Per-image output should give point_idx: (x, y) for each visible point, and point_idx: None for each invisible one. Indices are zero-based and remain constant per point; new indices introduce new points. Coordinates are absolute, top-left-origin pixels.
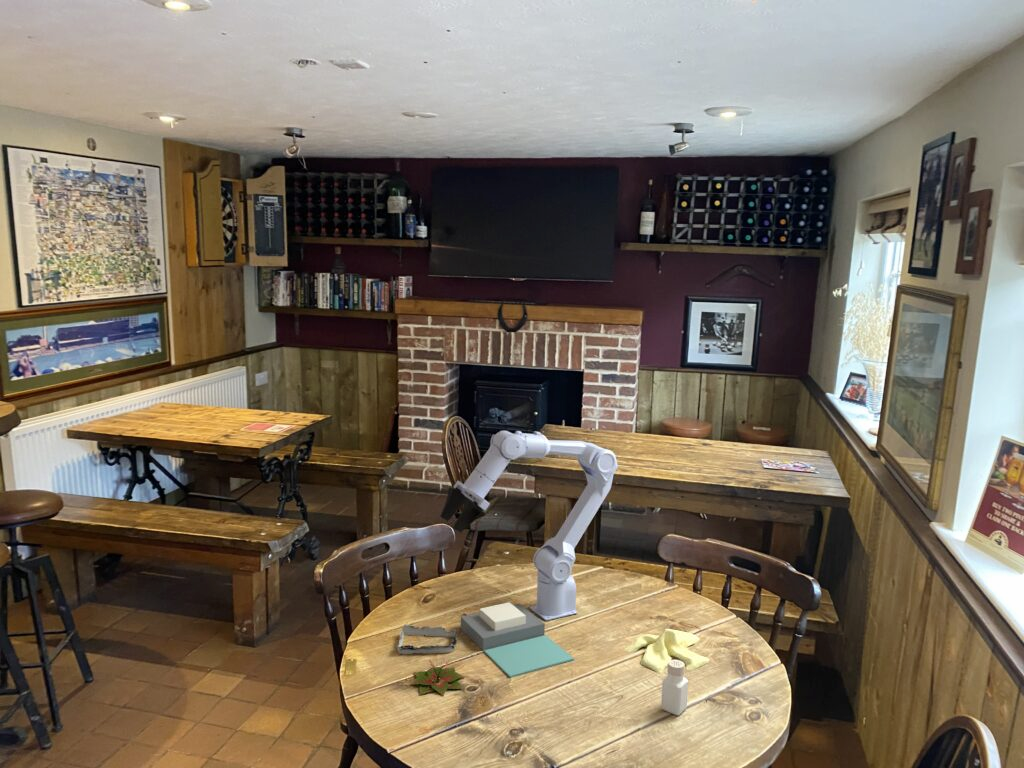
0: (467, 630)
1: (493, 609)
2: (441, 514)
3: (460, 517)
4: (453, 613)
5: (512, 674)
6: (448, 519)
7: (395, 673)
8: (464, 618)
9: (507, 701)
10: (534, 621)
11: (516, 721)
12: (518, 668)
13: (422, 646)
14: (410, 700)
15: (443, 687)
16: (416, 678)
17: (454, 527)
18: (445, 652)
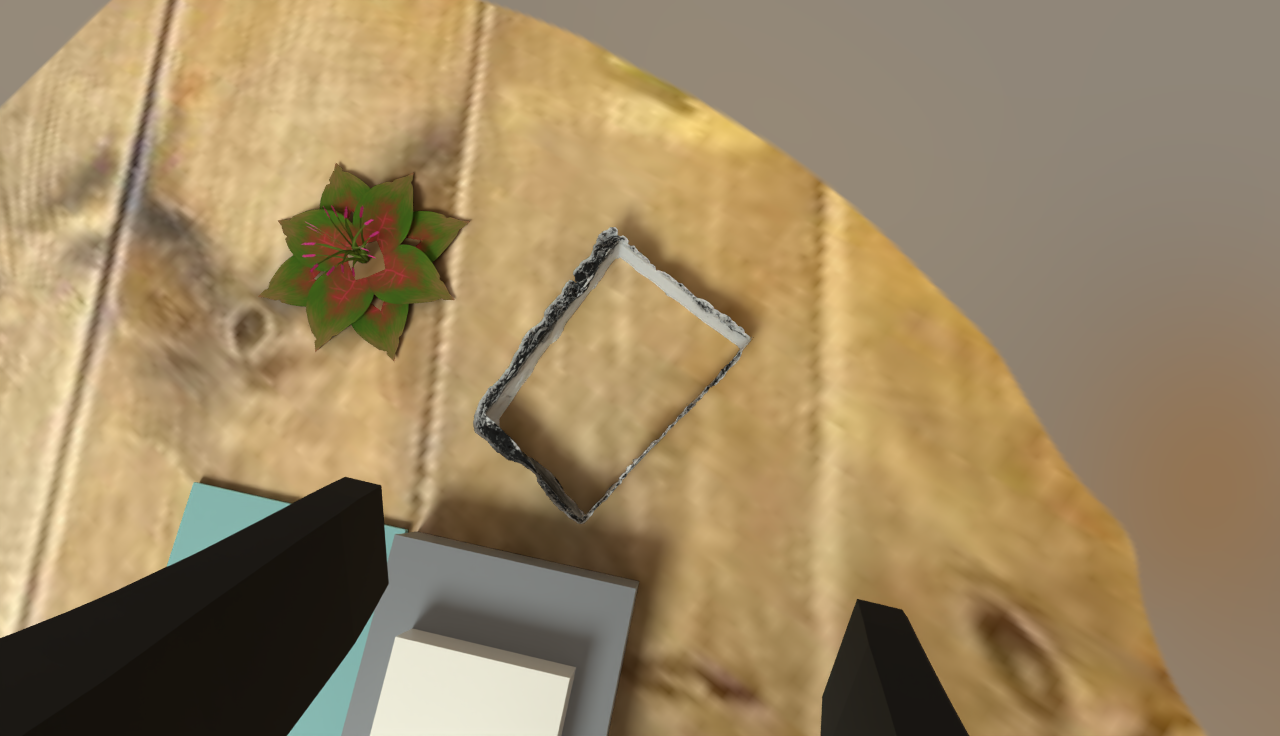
0: (565, 568)
1: (514, 734)
2: (897, 628)
3: (165, 573)
4: (791, 654)
5: (194, 496)
6: (822, 722)
7: (509, 174)
8: (609, 591)
9: (105, 373)
10: None
11: (10, 323)
12: (206, 545)
13: (558, 316)
14: (338, 130)
15: (306, 242)
16: (412, 198)
17: (346, 484)
18: (510, 400)
